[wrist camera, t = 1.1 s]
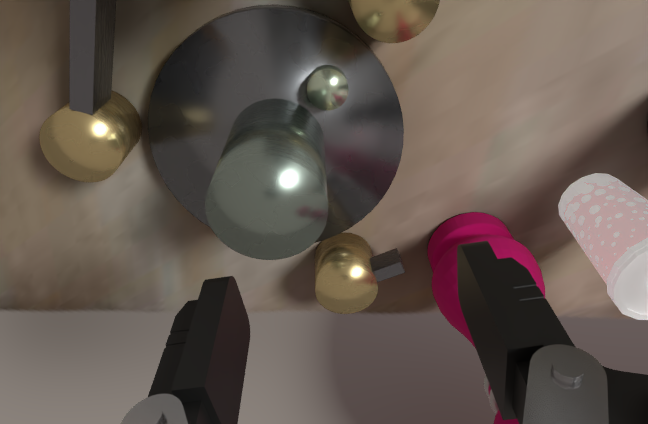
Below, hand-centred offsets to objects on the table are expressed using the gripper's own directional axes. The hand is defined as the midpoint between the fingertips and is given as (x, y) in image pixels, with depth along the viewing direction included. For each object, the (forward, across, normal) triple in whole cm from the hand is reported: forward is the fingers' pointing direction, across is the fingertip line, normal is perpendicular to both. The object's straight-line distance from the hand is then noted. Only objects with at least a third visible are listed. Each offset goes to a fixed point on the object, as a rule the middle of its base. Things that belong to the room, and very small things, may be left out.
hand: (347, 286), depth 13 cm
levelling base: (+20, +2, +3) cm, 20 cm away
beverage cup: (+20, -18, +12) cm, 29 cm away
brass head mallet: (+19, +12, -4) cm, 23 cm away
